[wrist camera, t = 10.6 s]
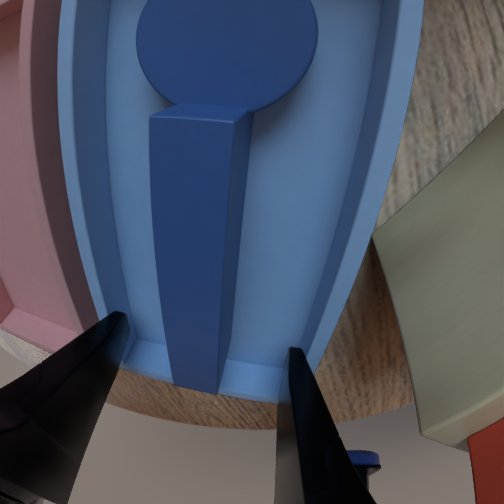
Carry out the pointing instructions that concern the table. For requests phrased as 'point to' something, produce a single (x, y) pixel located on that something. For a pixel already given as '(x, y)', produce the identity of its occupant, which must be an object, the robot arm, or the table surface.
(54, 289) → the rose tray
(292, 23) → the blue paddle
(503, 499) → the red spoon
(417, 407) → the wooden rectangular block
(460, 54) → the table surface
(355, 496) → the robot arm
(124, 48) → the blue tray
